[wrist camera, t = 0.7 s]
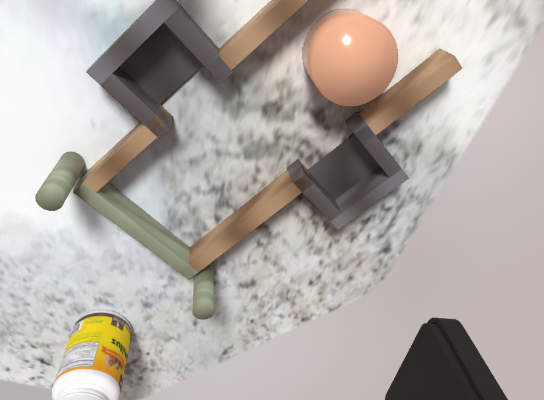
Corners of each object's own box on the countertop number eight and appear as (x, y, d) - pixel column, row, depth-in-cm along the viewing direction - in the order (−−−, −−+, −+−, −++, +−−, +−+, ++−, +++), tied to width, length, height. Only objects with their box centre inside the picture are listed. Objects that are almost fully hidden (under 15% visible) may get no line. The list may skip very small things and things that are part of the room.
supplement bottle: (138, 343, 47) (121, 436, 38) (83, 349, 47) (54, 445, 38) (126, 303, 44) (105, 394, 35) (68, 310, 44) (32, 403, 35)
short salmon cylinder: (350, -11, 32) (367, -4, 29) (394, 54, 35) (413, 67, 32) (285, 47, 34) (294, 59, 30) (332, 105, 36) (344, 122, 33)
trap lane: (314, -160, 28) (337, -182, 22) (476, 107, 38) (517, 135, 33) (22, 135, 35) (-11, 170, 30) (225, 293, 45) (227, 339, 40)
